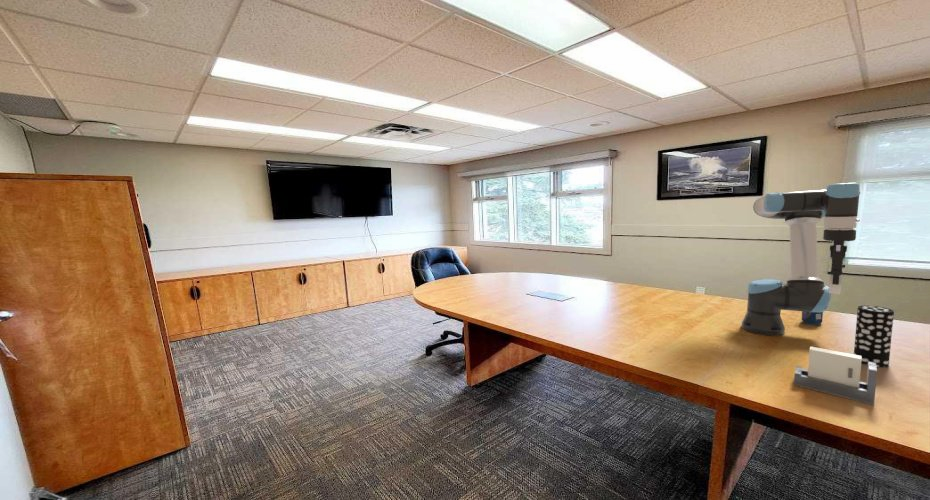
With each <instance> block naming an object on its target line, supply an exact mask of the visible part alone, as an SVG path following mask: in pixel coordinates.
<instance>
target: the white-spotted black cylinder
mask: <svg viewBox="0 0 930 500" xmlns="http://www.w3.org/2000/svg"><path fill="white" fill-rule="evenodd" d="M894 314H895V310H894V309H891V308H888V307H883V306H876V305H858V306H857V313H856V323H855V324H856V325H855V334H854V335H855V336H854V337H855V338H854V347H853V354H854V355H859V356H861V357H862V361H861V365H862V364H863V365H867V366H868V362H874V363H876V367H877V368H887V367H889V365H890V357H891V347H892V346H891V345H892V336H893V324H894V316H895V315H894Z"/></svg>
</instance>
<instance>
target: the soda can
mask: <svg viewBox="0 0 930 500" xmlns="http://www.w3.org/2000/svg"><path fill="white" fill-rule="evenodd" d="M823 315H824V312H804V311H801V321H802V322H803V323H804V324H807V325H811V326H820V325H822V323H823V317H824V316H823Z"/></svg>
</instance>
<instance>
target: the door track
mask: <svg viewBox="0 0 930 500" xmlns="http://www.w3.org/2000/svg"><path fill="white" fill-rule="evenodd" d="M877 377H878V367H876V363H874V362H868V365H867V371H866V379H865V380H866V382H865V381H860V384H859V388H857V387H853V386H848V385H844V384H840V383H835V382H831V381H827V380H822V379H818V378H814V377H809V376H808V369H804V367H803V366H799V365H796V367H795V371H794V380H793V386H795V385H796V387H799V386H800V387H801V388H803V387H804V389H807V388H808V389H807V390H811V389H813V391H815V390H816V392H819V391H820V392H819V393H823V392H824V393H823V394H827V393H828V394H827V395H831V394H832V396H836V397H839V398H844V399H848V400H852V401H856V402H860V403H864V404H868V405H873V406H874V405H875V400H876V399H875V397H876V390H877V389H876V387H877ZM800 387H799V388H800Z"/></svg>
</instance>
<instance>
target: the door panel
mask: <svg viewBox="0 0 930 500" xmlns="http://www.w3.org/2000/svg"><path fill="white" fill-rule="evenodd" d="M808 352H809V353H808V369H807V370H808V376H809V377H814V378H818V379H822V380H827V381H831V382H835V383H840V384H844V385H848V386H853V387H857V388H859V384H860V382H861V371H862V363H861V361H862V357H861V356H859V355H854V353H848V352H841V351H836V350H832V349H825V348H820V347H817V346H816V347H815V346H809V351H808Z"/></svg>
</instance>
